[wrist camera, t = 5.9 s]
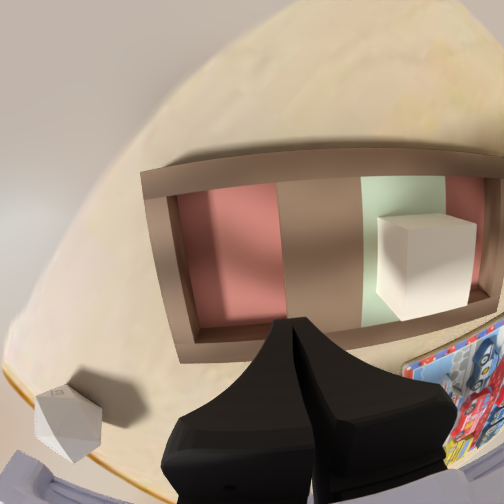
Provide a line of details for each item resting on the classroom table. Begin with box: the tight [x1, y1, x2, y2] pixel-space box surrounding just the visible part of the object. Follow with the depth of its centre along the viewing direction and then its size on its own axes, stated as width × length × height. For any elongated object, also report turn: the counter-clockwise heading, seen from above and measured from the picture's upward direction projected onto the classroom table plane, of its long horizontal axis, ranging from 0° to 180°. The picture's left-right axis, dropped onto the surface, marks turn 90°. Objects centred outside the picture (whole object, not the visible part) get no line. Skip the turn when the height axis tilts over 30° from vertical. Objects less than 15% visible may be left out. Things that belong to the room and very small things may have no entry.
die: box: [35, 384, 103, 463], centre depth 21 cm, size 8×9×10 cm
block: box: [376, 213, 477, 321], centre depth 15 cm, size 5×5×4 cm
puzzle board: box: [401, 313, 504, 466], centre depth 24 cm, size 30×23×3 cm
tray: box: [140, 148, 504, 364], centre depth 18 cm, size 14×28×2 cm, turn 96°
